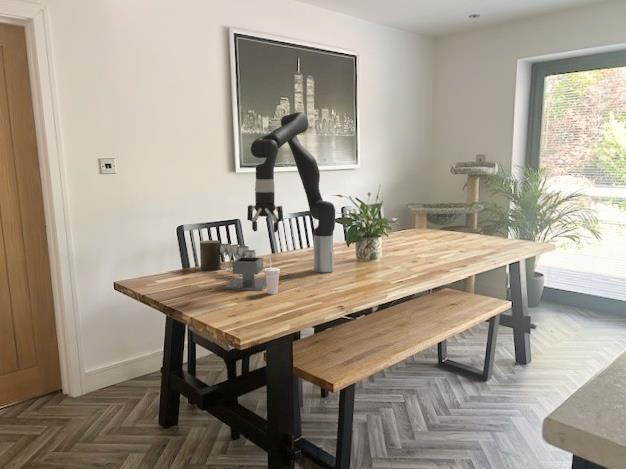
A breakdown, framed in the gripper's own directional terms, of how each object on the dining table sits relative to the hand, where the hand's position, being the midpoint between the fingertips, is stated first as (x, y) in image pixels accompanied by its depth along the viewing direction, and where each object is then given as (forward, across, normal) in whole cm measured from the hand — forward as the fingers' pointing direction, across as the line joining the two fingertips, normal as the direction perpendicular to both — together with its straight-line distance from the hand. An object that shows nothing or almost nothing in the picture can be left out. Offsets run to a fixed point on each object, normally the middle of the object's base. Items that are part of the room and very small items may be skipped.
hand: (265, 231), depth 195 cm
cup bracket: (+24, +10, -6) cm, 27 cm away
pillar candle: (+24, +40, -31) cm, 57 cm away
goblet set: (+24, +25, -27) cm, 44 cm away
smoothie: (+24, -4, +3) cm, 25 cm away
